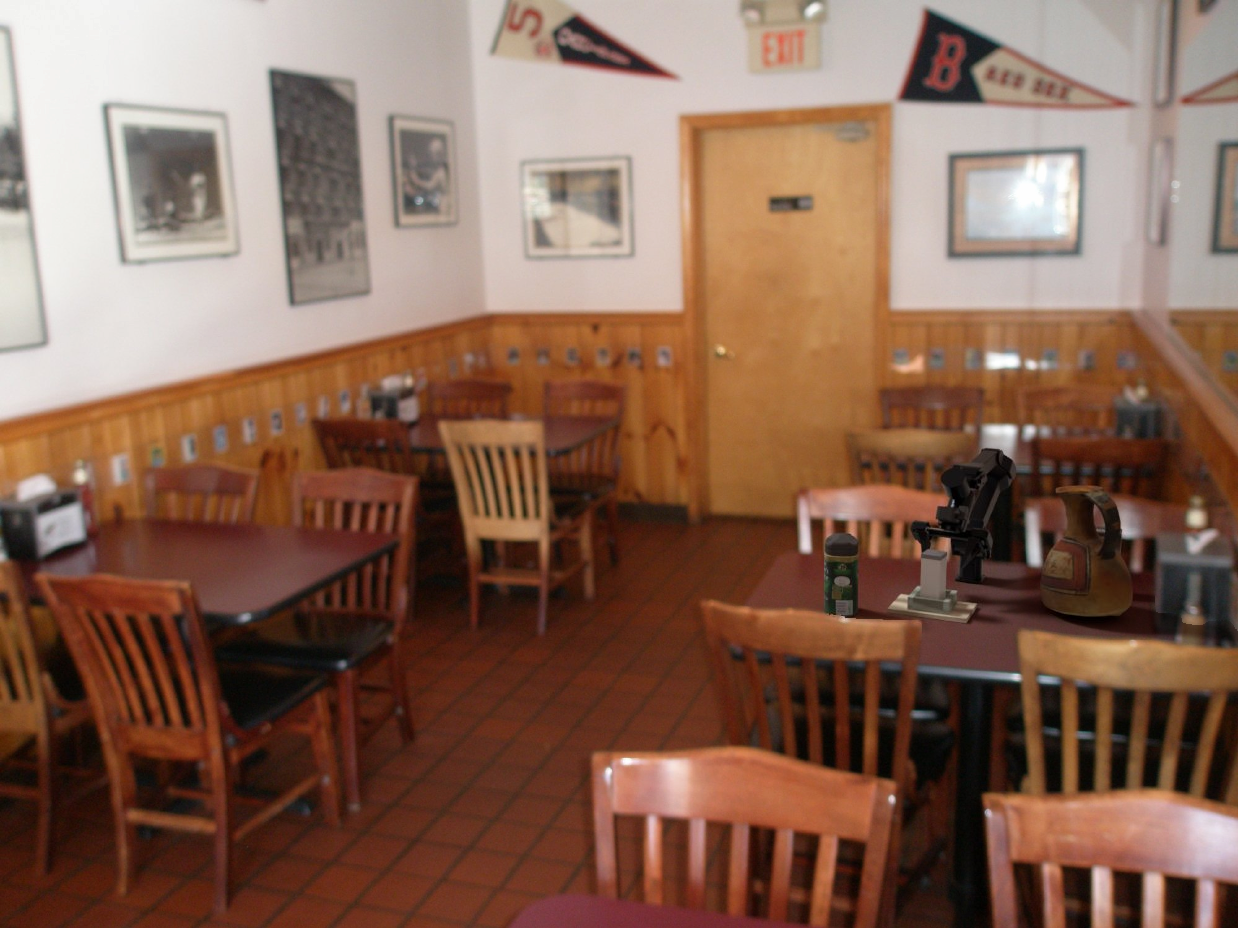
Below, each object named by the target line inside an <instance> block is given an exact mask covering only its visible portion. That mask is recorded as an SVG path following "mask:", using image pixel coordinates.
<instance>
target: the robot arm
mask: <svg viewBox="0 0 1238 928" xmlns="http://www.w3.org/2000/svg"><path fill="white" fill-rule="evenodd" d="M1016 476H1017V467H1016V464H1015V462H1014V460H1013V459H1012V458H1010V457H1009V456H1008V455H1006V454H1005V453H1004V450H1001V449H1000V448H993V447H991V448H990V447H985V448H981V450H980V452H979V454H978V455H976V456H975V457H974V458H973V459H972V460H971V461H970V462H962V463H959V464H952V466H951V468H948V469H946V470H945V471H943V473H941V475H940V483H941V485H942V488H943V490H944V492H945V495H946V497H948V498H949V499H948V502H947V505H945V506H943V505H938V506H937V507H936V513H935V520H937V525H938V526H940V528H936V527H932V526H931V524H930V522H929V521H924V520H917V519H916V520H913V521H912V522H911V523H910V527H909V531H910V532H911V534H912V536H913V539H914V540H915V541H917V542H918V544H920V552H921V553H920V554H922V553H923V552H924V551H926V550H927V549H931V546H932V539H933V537H938V538H944V539H945V538H946V539H947V538H948V539H950V546H951V549H950V550H951V556H958V557H959V559H958V574H957V575H956V576H955V577H954V581H957V582H966V583H972V584H973V583H976V584H981V583H982V582H984V580H985V578H986V576H987V575H986V574H983V565H984V564H983V563H984V561H983V560H987V559H988V560H989V559H991V557H992V554H991V553H992V548H993V543H994V542H993V541H994V540H993V538H992V535H991V532H990V530H989V529H988V528H987V525H988V522H989V521H990V517H991V515H992V512H993V510H994V507H995V505H996V503H997V500H998V498H999V495H1000V493H1001V492H1002V491H1004V490H1007V488H1009V487H1010V486H1011V484H1012V482H1013V481H1014V480H1015V478H1016ZM972 490H975V491H976V490H977V491H978V494H977V497H976V494H975V493H974V492H973V491H972Z"/></svg>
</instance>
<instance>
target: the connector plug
mask: <svg viewBox="0 0 1238 928" xmlns="http://www.w3.org/2000/svg"><path fill="white" fill-rule="evenodd" d="M947 557H948V551H945V550H936V549H932V548H930V549H927V550H926V551H924V552H923V553H920V561H921V562H920V584H919V586H920V597H924V598H932V599H940V600H945V596H946V589H947V587H946V586H947V564H948V562H947V561H948V558H947Z"/></svg>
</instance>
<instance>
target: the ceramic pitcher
mask: <svg viewBox="0 0 1238 928" xmlns="http://www.w3.org/2000/svg"><path fill="white" fill-rule="evenodd" d="M1055 493H1056V495H1057V496H1059V498H1060V499H1061V501H1062V502H1063V503H1062V504H1063V505H1064V510H1065V516H1066V522H1067V523H1066V530H1065V534H1064V536H1063V537H1062V538H1061V539H1060V540H1059V541H1057V542H1056V543H1055V544H1054V545H1053V547H1051V548H1050V551H1049V552H1048V554H1047V556H1046V559H1045V561H1044V565H1043V568H1042V571H1041V576H1040V583H1039V584H1040V585H1039V586H1040V589H1039V590H1040V597H1041V601H1042V603H1043V605H1044V606H1045V607H1046V608H1048V609H1050V610H1052V611H1054V612H1058V613H1061V614H1064V615H1072V616H1076V617H1091V618H1092V617H1108V616H1114V617H1119V616H1121V615H1122V614H1123V613H1125V612H1126V611H1127V610H1128V609H1129V608H1130V606H1131V605H1132V603H1133V595H1134V594H1133V593H1134V591H1133V590H1134V589H1133V582H1132V578H1131V574H1130V571H1129V568H1128V566H1127V563H1126V561H1125V560H1124V559H1123V556H1122V555H1121V553H1120V554H1119V552H1118V551H1117V550H1116V549H1115V547H1116V544H1117V541H1118V537H1119V535H1120V529H1122V526H1121V525H1122V523H1121V522H1122V521H1121V518H1120V517H1121V515H1120V512H1119V509H1118V506H1117V504H1116V502H1115V501H1114V500H1113V498H1111V496H1109V494H1108V493H1106V492H1105V491H1104V487H1103V486H1097V485H1090V484H1089V485H1087V484H1086V485H1080V484H1079V485H1070V486H1069V485H1067V486H1061V487H1056V488H1055ZM1095 506H1096V507H1097V508H1098V510H1099V512H1100V514H1101V517H1102V519H1103V523H1104V527H1105V536H1104V539H1103V538H1101V537H1100V536H1099V535H1098V533H1097V530H1096V527H1095V526H1096V523H1095V515H1094V513H1095V512H1094V510H1095Z"/></svg>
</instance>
